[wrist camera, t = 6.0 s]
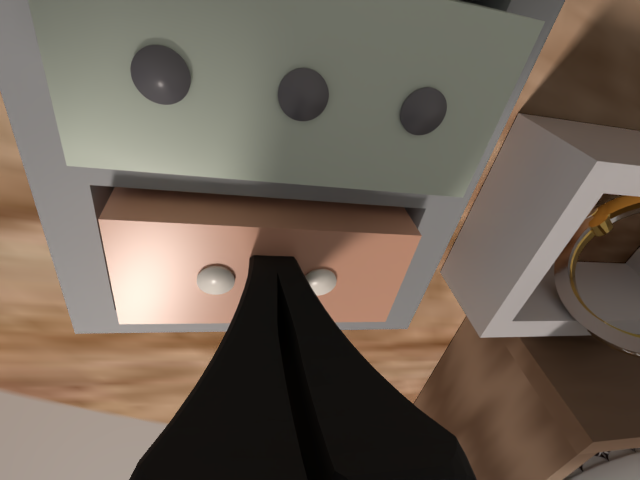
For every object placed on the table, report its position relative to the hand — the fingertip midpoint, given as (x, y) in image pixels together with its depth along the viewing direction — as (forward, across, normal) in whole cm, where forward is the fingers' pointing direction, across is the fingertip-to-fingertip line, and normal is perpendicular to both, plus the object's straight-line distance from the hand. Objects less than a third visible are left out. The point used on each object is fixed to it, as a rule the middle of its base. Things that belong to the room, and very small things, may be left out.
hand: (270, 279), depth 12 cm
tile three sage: (+2, 0, -6) cm, 6 cm away
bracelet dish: (+4, -15, -1) cm, 16 cm away
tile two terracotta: (+3, 0, 0) cm, 3 cm away
